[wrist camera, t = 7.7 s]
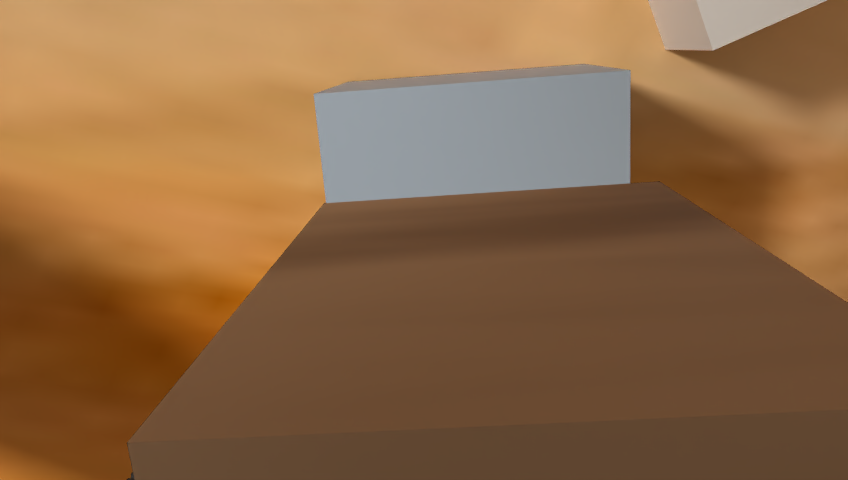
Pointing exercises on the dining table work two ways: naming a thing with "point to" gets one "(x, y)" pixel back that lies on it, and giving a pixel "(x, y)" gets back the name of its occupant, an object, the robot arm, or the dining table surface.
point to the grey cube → (718, 20)
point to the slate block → (475, 133)
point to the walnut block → (516, 350)
